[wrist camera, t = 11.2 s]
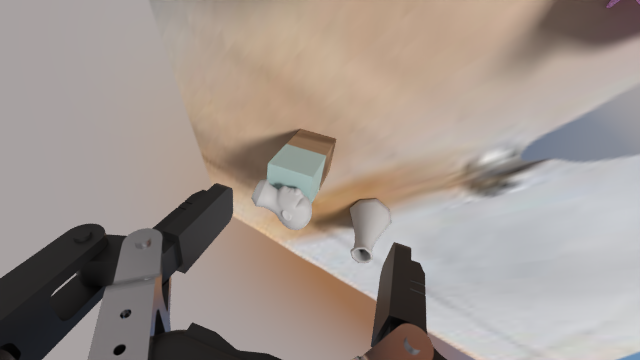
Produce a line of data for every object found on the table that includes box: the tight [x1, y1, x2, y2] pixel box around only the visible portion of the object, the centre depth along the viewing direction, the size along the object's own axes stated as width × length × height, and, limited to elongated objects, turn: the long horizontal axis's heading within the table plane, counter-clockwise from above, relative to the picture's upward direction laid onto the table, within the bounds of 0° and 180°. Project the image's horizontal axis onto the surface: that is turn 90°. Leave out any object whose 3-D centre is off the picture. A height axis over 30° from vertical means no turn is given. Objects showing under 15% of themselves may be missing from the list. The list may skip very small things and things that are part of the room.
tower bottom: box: [287, 129, 336, 190], centre depth 44 cm, size 6×6×6 cm
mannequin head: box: [252, 179, 312, 230], centre depth 35 cm, size 4×8×5 cm
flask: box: [349, 199, 392, 263], centre depth 45 cm, size 7×7×10 cm
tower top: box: [267, 144, 326, 204], centre depth 39 cm, size 6×6×6 cm
